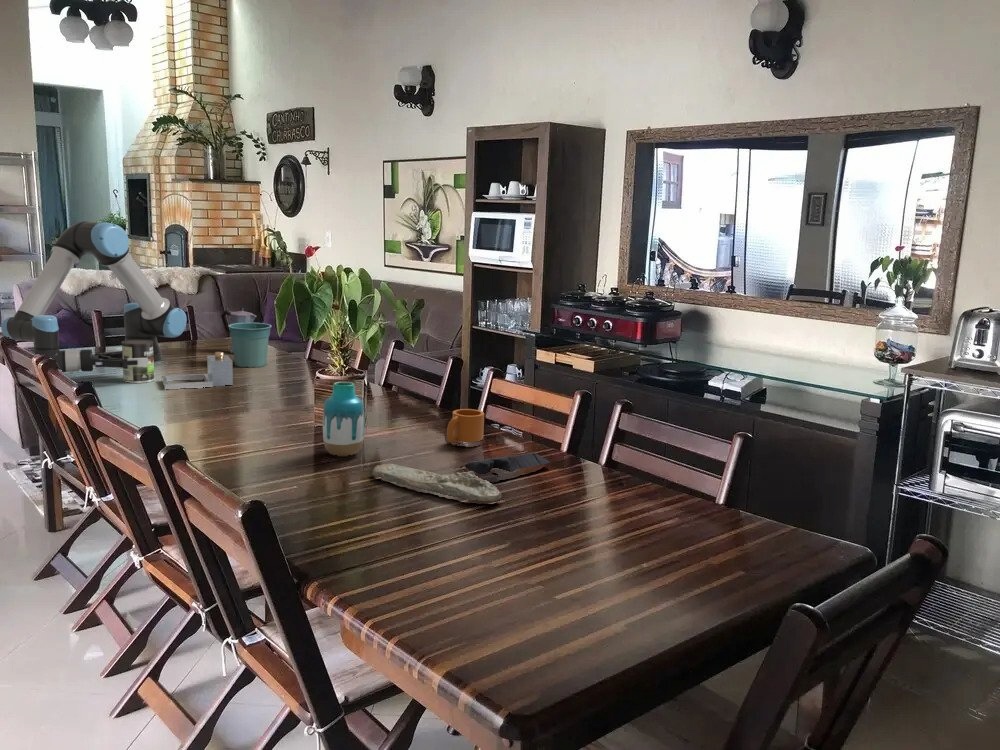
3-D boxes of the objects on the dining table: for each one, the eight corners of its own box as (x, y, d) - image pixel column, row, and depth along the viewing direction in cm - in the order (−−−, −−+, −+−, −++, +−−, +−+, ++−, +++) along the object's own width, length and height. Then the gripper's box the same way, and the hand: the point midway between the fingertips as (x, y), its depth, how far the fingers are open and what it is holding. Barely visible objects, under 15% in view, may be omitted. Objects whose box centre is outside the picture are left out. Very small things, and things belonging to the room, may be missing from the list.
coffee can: (159, 378, 294) (158, 340, 291) (146, 384, 284) (145, 344, 281) (131, 377, 294) (129, 338, 291) (117, 382, 284) (115, 343, 281)
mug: (435, 443, 227) (436, 411, 225) (471, 438, 234) (472, 407, 232) (452, 450, 220) (453, 418, 218) (489, 445, 227) (490, 414, 225)
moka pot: (253, 355, 346) (252, 309, 342) (217, 354, 346) (216, 307, 342) (260, 351, 355) (259, 306, 351) (225, 350, 355) (224, 305, 351)
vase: (327, 462, 205) (327, 388, 201) (319, 451, 214) (319, 380, 211) (368, 459, 209) (369, 386, 205) (358, 448, 219) (359, 378, 215)
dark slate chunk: (558, 473, 206) (559, 455, 205) (487, 487, 193) (488, 468, 192) (522, 457, 218) (523, 440, 217) (453, 469, 206) (454, 451, 205)
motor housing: (161, 381, 289) (160, 350, 287) (227, 378, 299) (226, 348, 297) (165, 390, 276) (163, 358, 274) (233, 386, 286) (232, 355, 283)
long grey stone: (389, 475, 202) (363, 488, 194) (387, 455, 201) (361, 467, 192) (510, 497, 184) (488, 512, 176) (510, 475, 183) (487, 489, 175)
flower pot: (271, 369, 319) (271, 328, 316) (227, 369, 315) (226, 328, 312) (272, 361, 335) (272, 322, 332) (230, 361, 331) (230, 322, 328)
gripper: (81, 364, 291) (145, 362, 300) (79, 378, 269) (149, 375, 278) (79, 344, 289) (144, 342, 299) (78, 356, 268) (148, 353, 277)
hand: (147, 358), depth 289 cm, fingers open, 13 cm apart
